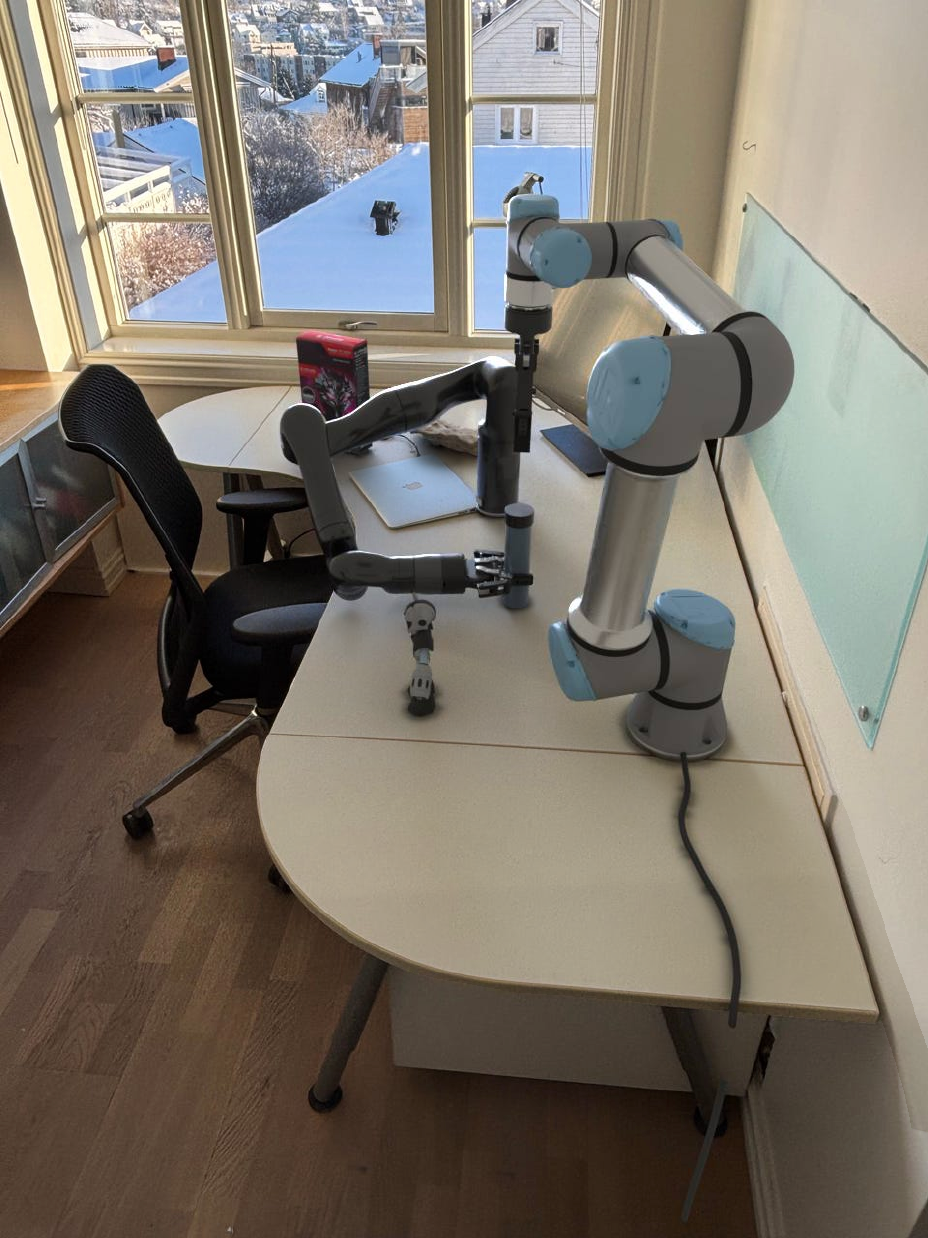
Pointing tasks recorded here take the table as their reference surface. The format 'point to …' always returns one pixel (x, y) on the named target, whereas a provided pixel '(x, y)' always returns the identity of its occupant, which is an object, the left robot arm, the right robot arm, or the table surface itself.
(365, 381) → the graphics card box
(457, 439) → the stone
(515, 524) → the lid
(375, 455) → the table surface
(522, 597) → the blue-grey bottle
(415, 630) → the robot
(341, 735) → the table surface
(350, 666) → the table surface
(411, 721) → the table surface
